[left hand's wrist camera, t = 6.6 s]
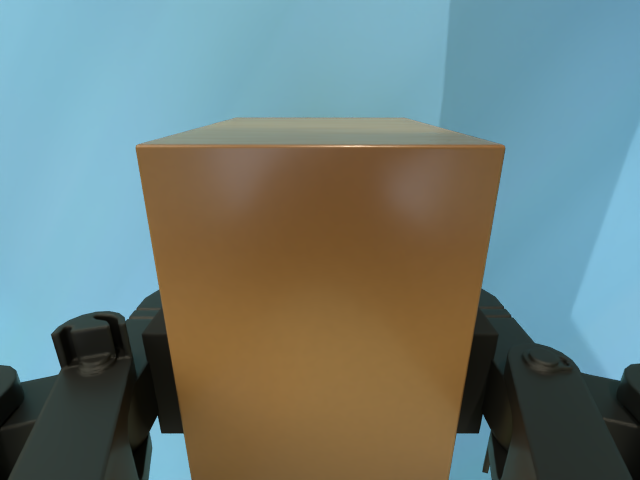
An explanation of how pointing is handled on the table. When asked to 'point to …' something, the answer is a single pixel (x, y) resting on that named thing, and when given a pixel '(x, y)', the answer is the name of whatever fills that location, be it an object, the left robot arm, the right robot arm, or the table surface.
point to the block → (320, 291)
